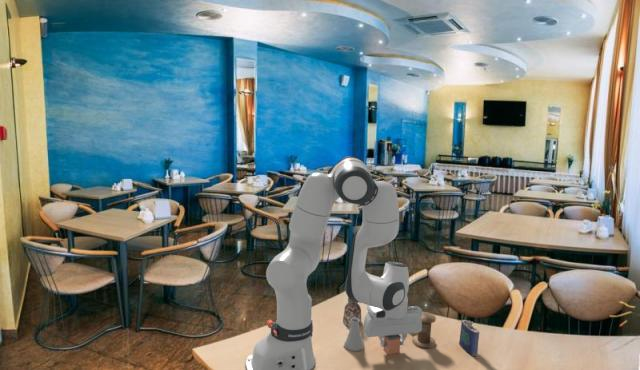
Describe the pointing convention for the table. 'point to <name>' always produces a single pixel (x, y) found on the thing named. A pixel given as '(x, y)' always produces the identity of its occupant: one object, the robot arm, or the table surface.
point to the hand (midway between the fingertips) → (391, 345)
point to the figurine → (351, 312)
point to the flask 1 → (354, 337)
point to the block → (392, 344)
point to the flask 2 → (469, 338)
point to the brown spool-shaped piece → (425, 332)
